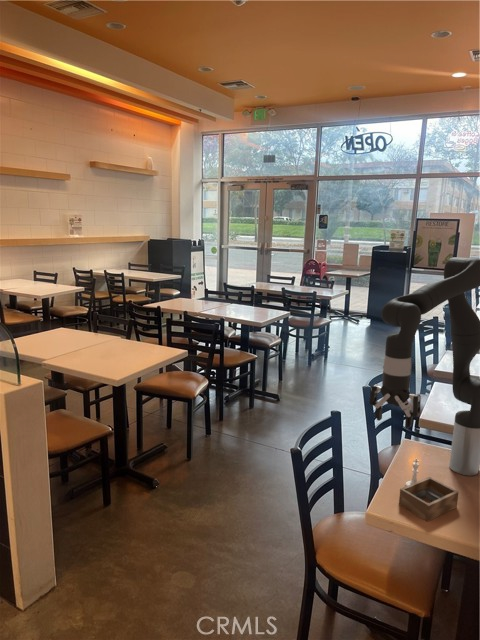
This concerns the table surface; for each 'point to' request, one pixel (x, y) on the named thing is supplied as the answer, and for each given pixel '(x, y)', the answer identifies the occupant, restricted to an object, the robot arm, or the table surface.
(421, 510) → the walnut box
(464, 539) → the table surface
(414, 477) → the chess piece
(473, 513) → the table surface
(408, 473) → the table surface
